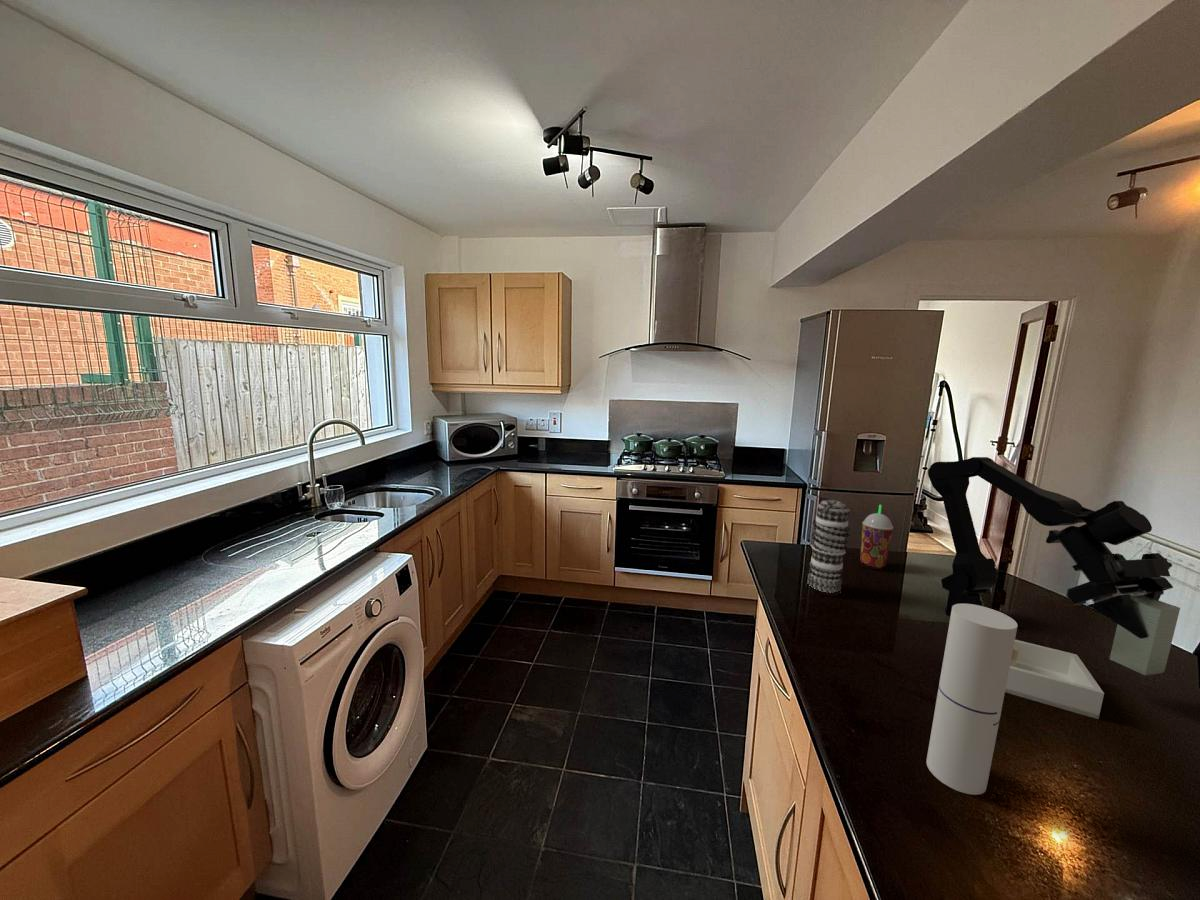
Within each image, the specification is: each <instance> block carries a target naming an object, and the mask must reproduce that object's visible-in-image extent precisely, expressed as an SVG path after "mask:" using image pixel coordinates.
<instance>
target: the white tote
mask: <svg viewBox="0 0 1200 900" xmlns="http://www.w3.org/2000/svg"><path fill="white" fill-rule="evenodd" d="M1014 644H1015V646H1016V648H1017V650H1018V655H1017V660H1016V666H1015V667H1013V666H1010V668H1009V673H1008V679H1007V684H1006V689H1005V693H1006V694H1010V695H1014V696H1016V697H1020V698H1024V699H1027V700H1030V701H1033V702H1034V701H1035V702H1037V703H1040V704H1043V705H1044V704H1045V705H1048V706H1052V707H1055V708H1058V709H1061V710H1065V711H1068V712H1072V713H1074V714H1079V715H1081V716H1082V715H1083V716H1086V717H1089V718H1093V719H1097V720H1099V719H1100V713H1101V710H1102V705H1103V701H1104V695H1105V692H1104V691H1103V690H1102V689H1101V687H1100V685H1099V684H1098V683H1097V681H1096V679H1094V676H1093V675H1092V674H1091V672H1090V671H1089V670H1088V668H1087V667H1086V666H1085V664H1084V662H1083V661H1082V660H1081V659H1080V657H1079V656H1078V654H1075V653H1072V652H1069V651H1068V652H1067V651H1064V650H1059V649H1055V648H1052V647H1048V646H1044V645H1043V646H1042V645H1039V644H1035V643H1031V642H1027V641H1022V640H1019V639H1015V642H1014Z"/></svg>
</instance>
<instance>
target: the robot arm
mask: <svg viewBox="0 0 1200 900" xmlns="http://www.w3.org/2000/svg"><path fill="white" fill-rule="evenodd" d="M927 476H928V479H929V481H930V483H931V485H932V488H933V489H934V490H935V491H936V492H937V493H938V494H939V496H941V498H942V501H943V506H944V509H945V513H946V514H945V515H946V518H947V521H948V525H949V530H950V535H951V538H952V541H953V546H954V550H955V556H954V559H953V562H952V565H951V568H952V569H951V570H952V574H950V575H948V576H945V577H944V578H941V579H940V581H941V586H942V588H943V589H945V590H946V596H945V602H944V603H943V609H944V614H945V615H947V616H950V617H951V611H952V606H953V605H955V604H973V605H979V606H983V601H982V599H981V594H987V593H988V591H989V590H990V589H993V588H994V586H995V585H996V584H997V582H998V576H1000V574H999V573H998V571H997V569H996V562H995V560H994V558H992V557H991V558H987V557H986V555H984V554H983V553H982V551H981V548H980V545H979V540H978V537H977V532H976V529H975V525H974V522H973V518H972V514H971V511H970V506H969V501H968V498H967V491H968V488H969V485H970V478H973V477H977V476H978V477H979V478H981V479H982V480H984V481H985V482H987V483H989V484H990V485H992V486H993V487H995V488H997V489H999V490H1000V491H1001V492H1003V493H1004V494H1007V495H1008V496H1010V497H1011V498H1013V499H1015V501H1018V503H1020V505H1022V507H1023V508H1024V510H1025V513H1027V514H1028V515H1029V516H1030V517H1032V519H1034V520H1035V521H1036V522H1038V523H1039V524H1040V525H1043V526H1046V527H1058V526H1067V527H1065V528H1063V529H1061V530H1058V529H1055V530H1054V529H1053V530H1049V531H1048V534H1047V535H1048V536H1047V537H1046V540H1045V542H1046V544H1060V545H1062V547H1063V548H1064V549H1065V550H1066V552H1067V554H1068V555H1069V556H1070V557H1071V559H1072V560H1073V562H1075V564H1074V565H1072V566H1071V568H1073V570H1074V571H1075V572H1078V571H1079V572H1080V571H1081V572H1082V573H1083V574H1084V576H1085V578H1086V580H1088V581H1087V582H1084V583H1081V584H1079V585H1076V586H1073V587H1070V588H1068V589H1067V591H1066V592H1067V593H1066V597H1067V598H1068V601H1070V603H1071V604H1072V606H1077V605H1085V604H1086V603H1087V602H1088V601H1090V600H1091V601H1092V602H1093V603H1090V604H1087V608H1089V609H1092V610H1094V611H1096V612H1098V613H1099V614H1101V615H1103V616H1104V617H1106V618H1108V619H1109V620H1110V621H1112V622H1113V623H1116V625H1117V624H1119V625H1120V626H1122V627H1123V628H1125V629H1126V630H1128V631H1129V632H1131V633H1132V634H1134V635H1135V636H1137V637H1138V638H1140V639H1143V638H1147V634H1146V632H1145V631H1144V629H1143V627H1142V626H1141V624H1140V622H1139V621H1138V619H1137V618H1136V616H1135V615H1134V613H1133V611H1132V610H1131V608H1130V607H1129V602H1130V596H1138V595H1144V596H1147V597H1150V598H1153V599H1156V600H1159V601H1160V598H1161V596H1162V595H1164V593H1165V592H1164V591H1168V590H1171V589H1174V586H1173V585H1172V584H1171V582H1170V581H1169V580H1168V579H1167V577H1171V574H1170V571H1169V570H1170V569H1171V568H1172V567H1173V564H1172V563H1171V562H1169V561H1168V559H1167V558H1166V557H1164V556H1163V555H1162V554H1161V553H1159V552H1155V553H1143V554H1142V556H1141V559H1140V558H1138V559H1137V558H1136V559H1126V557H1125V556H1124V555H1122V554H1121V553H1118V552H1117V553H1113V552H1112V551H1111V550H1110V549H1109V547H1108V546H1107V545H1106V544H1109V545H1111V546H1118V545H1120V544H1123V543H1126V542H1129V541H1130V540H1132V539H1135V538H1138V537H1141V536H1143V535H1146V534H1148V533H1150V532H1152V530H1153V527H1152V523H1151V522H1150V520H1149V519H1148V517H1146V515H1144V514H1141V512H1139V511H1138V510H1136V509H1135V508H1133V507H1131V506H1129V505H1127V504H1126V503H1125V502H1124V501H1123V500H1114V501H1111V502H1109V503H1107V504H1106V505H1105V506H1103V507H1101V508H1100V509H1097V510H1092V509H1090V508H1087V507H1083V505H1082V504H1081V503H1080V502H1079V501H1077V500H1076V499H1074V498H1071V497H1068V496H1066V495H1063V494H1060V493H1057V492H1054V491H1050V490H1047V489H1043V488H1041V487H1038V486H1037V485H1036V484H1033V483H1031V482H1030V481H1028V480H1026V479H1025V478H1023V477H1021V476H1019V475H1018V474H1016V473H1014V472H1013V471H1011V470H1009V469H1007V468H1006V467H1004V466H1002V465H1001V464H999V463H997V462H996V461H994V459H992V458H990V457H989V456H988V457H987V456H978V457H977V456H973V457H969V458H967V459H961V460H956V461H936V462H933V463H932V464H931V465H930V467H929V468H928V469H927ZM1081 523H1082V524H1083V525H1080V526H1075V525H1076V524H1081ZM1084 523H1085V524H1084Z"/></svg>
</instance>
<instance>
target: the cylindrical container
mask: <svg viewBox="0 0 1200 900" xmlns="http://www.w3.org/2000/svg"><path fill="white" fill-rule="evenodd" d="M948 623H949V624H948V631H947V635H946V642H945V648H944V655H943V659H942V664H941V665H942V666H941V672H940V677H939V684H938V690H937V694H936V701H935V708H934V713H933V718H932V719H933V720H932V726H931V732H930V738H929V744H928V750H927V755H926V766H927V768H928V770H929V772H930V773H931V774H932V775H933V776H934V777H935V778H936V779H937V780H938V781H940V782H941V783H942V784H944V785H945V786H948V787H949V788H951V789H952V790H955V791H957V792H960V793H963V794H967V795H971V796H972V795H973V796H977V795H982V794H984V793H985V792H986V791H987V786H988V782H989V776H990V772H991V767H992V761H993V755H994V751H995V746H996V741H997V737H998V736H997V735H998V731H999V725H1000V720H1001V716H1002V715H1001V714H1002V710H1003V704H1004V698H1005V693H1006V692H1005V689H1006V684H1007V679H1008V673H1009V668H1010V663H1011V658H1012V652H1013V647H1014V642H1015V640H1016V636H1017V632H1018V623H1017V622H1016V620H1014V619H1013V618H1012V617H1010V616H1009V615H1007V614H1005V613H1002V612H1001V611H998V610H995V609H992V608H989V607H987V606H983V605H982V606H979V605H973V604H955V605H953V606H952V611H951V616H950V618H949V622H948Z"/></svg>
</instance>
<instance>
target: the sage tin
mask: <svg viewBox="0 0 1200 900" xmlns="http://www.w3.org/2000/svg"><path fill="white" fill-rule="evenodd" d="M1129 607H1130V608H1131V610H1132V611H1133V613H1134V615H1135V616H1136V618H1137V619H1138V621H1139V622H1140V624H1141V626H1142V627H1143V629H1144V631H1145V632H1146V634H1147V638H1143V639H1140V638H1138V637H1137V636H1135V635H1134V634H1132V633H1131V632H1129V631H1128V630H1126V629H1125V628H1123V627H1122V626H1120V625H1119V624H1117V623H1116V625H1117V626H1116V628H1115V629H1116V630H1115V632H1114V637H1113V642H1112V646H1111V652H1110V655H1109V660H1111V661H1112V662H1115V663H1117V664H1120V665H1122V666H1123V667H1126V668H1128V669H1130V670H1132V671H1134V672H1136V673H1138V674H1140V675H1143V676H1151V675H1157V674H1162V673H1163V674H1164V673H1165V670H1166V666H1167V663H1168V659H1169V655H1170V651H1171V647H1172V642H1173V639H1174V635H1175V630H1176V627H1177V621H1178V618H1179V616H1180V612H1181V611H1180V610H1181V607H1178V606H1176V605H1173V604H1170V603H1167V602H1164V601H1162V600H1160V599H1159V600H1156V599H1153V598H1150V597H1147V596H1144V595H1138V596H1130V602H1129Z"/></svg>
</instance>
